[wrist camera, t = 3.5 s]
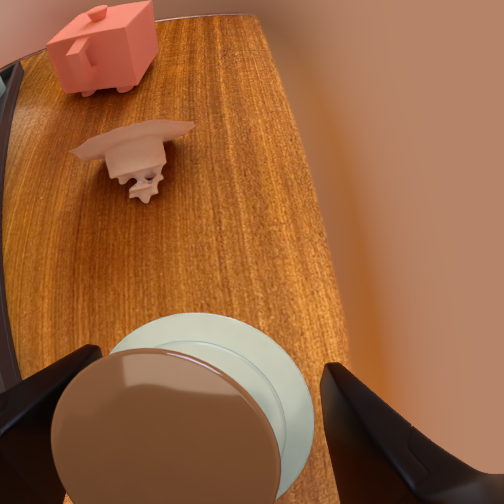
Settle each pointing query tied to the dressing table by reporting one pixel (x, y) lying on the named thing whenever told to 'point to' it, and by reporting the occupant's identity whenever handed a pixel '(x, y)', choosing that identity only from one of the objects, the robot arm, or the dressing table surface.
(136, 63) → the pink cube teapot
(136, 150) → the pale pink ornate lid
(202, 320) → the bottle
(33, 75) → the dressing table surface
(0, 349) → the tray
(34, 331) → the dressing table surface
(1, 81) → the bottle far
